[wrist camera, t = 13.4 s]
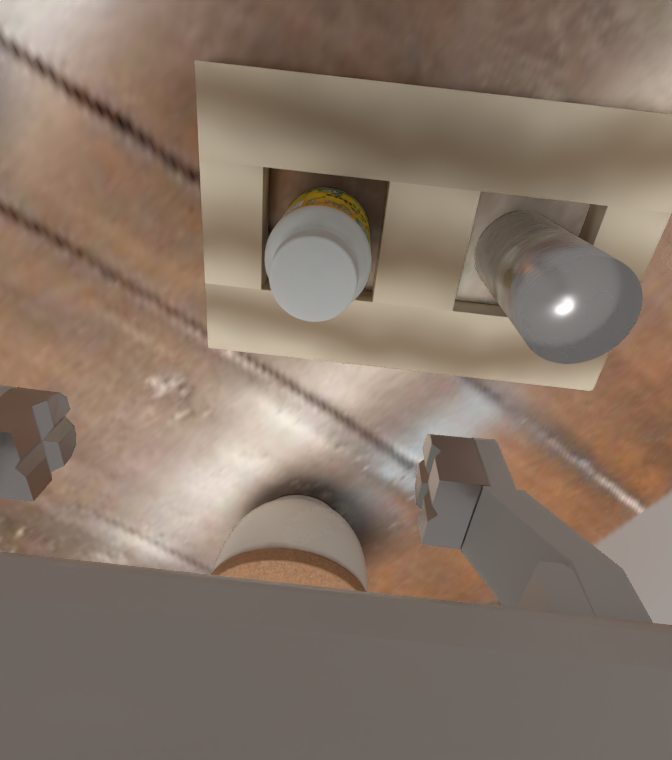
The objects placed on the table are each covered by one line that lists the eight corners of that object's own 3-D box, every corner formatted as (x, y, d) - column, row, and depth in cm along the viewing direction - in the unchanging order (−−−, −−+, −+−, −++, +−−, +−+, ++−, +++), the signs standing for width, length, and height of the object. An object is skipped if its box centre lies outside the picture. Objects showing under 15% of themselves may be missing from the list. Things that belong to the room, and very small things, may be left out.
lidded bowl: (234, 459, 38) (191, 573, 29) (383, 483, 39) (388, 604, 29) (228, 558, 45) (190, 678, 35) (355, 578, 45) (352, 702, 36)
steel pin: (486, 206, 27) (541, 249, 19) (569, 215, 27) (663, 263, 19) (466, 286, 30) (506, 357, 21) (542, 295, 30) (614, 369, 21)
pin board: (206, 64, 25) (194, 60, 23) (689, 118, 25) (713, 118, 23) (216, 335, 33) (208, 347, 31) (580, 376, 33) (592, 390, 31)
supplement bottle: (266, 229, 29) (226, 276, 21) (328, 164, 27) (311, 188, 18) (326, 290, 31) (311, 356, 22) (388, 234, 29) (397, 284, 20)
